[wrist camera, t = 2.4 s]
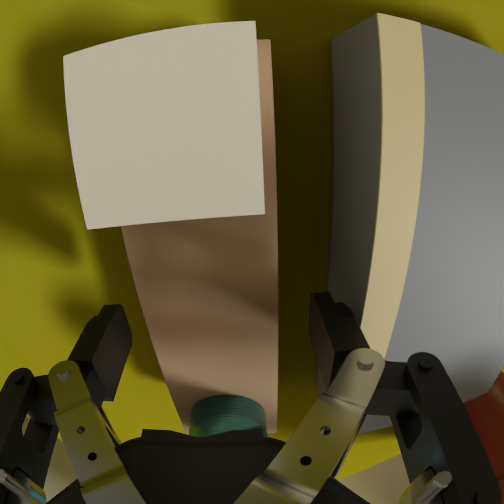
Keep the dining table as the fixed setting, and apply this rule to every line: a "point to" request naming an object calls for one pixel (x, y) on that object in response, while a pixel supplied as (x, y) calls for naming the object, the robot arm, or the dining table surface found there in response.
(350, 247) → the dock
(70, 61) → the white cube
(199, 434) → the teal canister
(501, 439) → the flower pot
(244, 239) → the pallet
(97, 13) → the dining table surface
